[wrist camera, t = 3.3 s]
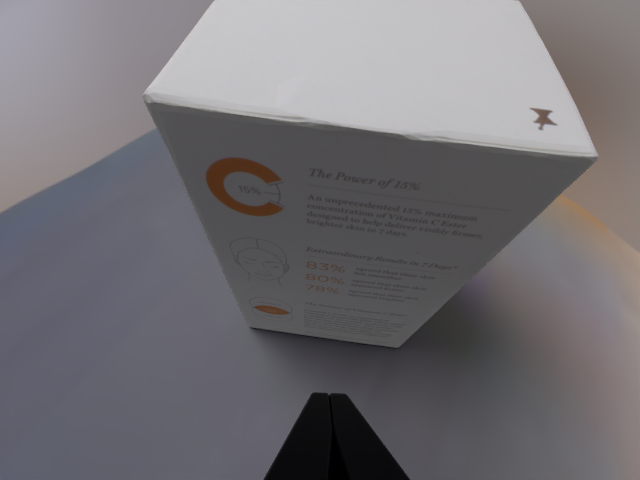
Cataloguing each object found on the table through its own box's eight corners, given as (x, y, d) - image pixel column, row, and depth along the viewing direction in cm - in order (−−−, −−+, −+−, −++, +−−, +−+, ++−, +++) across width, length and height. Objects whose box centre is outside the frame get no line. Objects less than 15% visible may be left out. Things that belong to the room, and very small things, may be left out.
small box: (399, 245, 19) (529, -5, 8) (400, 351, 16) (620, 159, 5) (270, 228, 20) (233, -40, 9) (244, 328, 16) (129, 96, 5)
